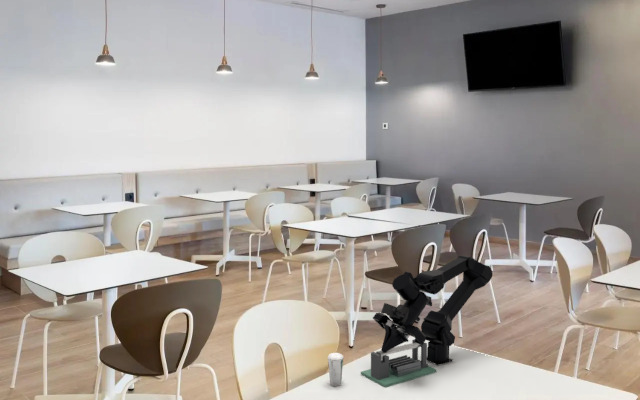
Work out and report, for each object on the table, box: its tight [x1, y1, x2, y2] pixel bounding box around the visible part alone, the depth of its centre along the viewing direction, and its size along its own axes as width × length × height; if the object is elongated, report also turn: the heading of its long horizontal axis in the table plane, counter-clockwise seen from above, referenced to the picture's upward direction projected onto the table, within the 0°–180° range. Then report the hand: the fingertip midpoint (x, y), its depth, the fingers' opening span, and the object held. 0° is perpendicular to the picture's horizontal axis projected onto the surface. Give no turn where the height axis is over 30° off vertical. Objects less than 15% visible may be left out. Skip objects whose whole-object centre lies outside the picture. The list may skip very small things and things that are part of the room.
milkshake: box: [327, 352, 345, 387], centre depth 177 cm, size 5×5×10 cm
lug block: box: [370, 351, 390, 380], centre depth 180 cm, size 4×4×7 cm
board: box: [360, 357, 438, 388], centre depth 185 cm, size 20×12×1 cm, turn 123°
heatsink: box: [389, 354, 421, 377], centre depth 185 cm, size 9×7×3 cm
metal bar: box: [375, 342, 421, 361], centre depth 184 cm, size 17×2×2 cm, turn 123°
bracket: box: [411, 338, 429, 369], centre depth 189 cm, size 2×5×8 cm, turn 33°
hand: (382, 351), depth 181 cm, fingers closed, pressing on metal bar
